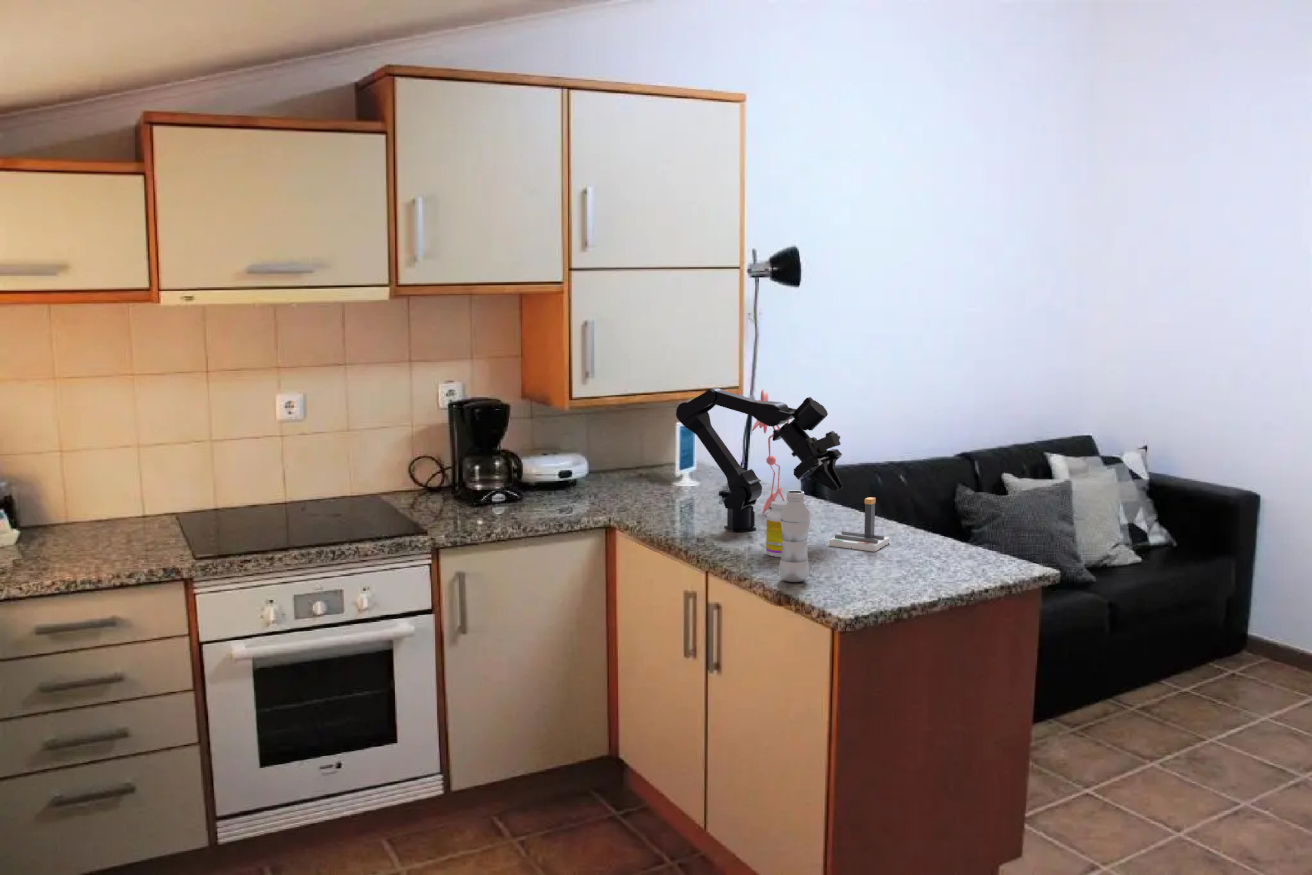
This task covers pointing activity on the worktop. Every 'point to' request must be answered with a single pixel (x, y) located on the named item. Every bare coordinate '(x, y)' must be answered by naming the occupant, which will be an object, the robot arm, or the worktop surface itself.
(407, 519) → the worktop surface
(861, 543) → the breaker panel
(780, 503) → the supplement bottle
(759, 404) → the robot arm
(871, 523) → the handle
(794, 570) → the plastic bottle
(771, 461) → the figurine
